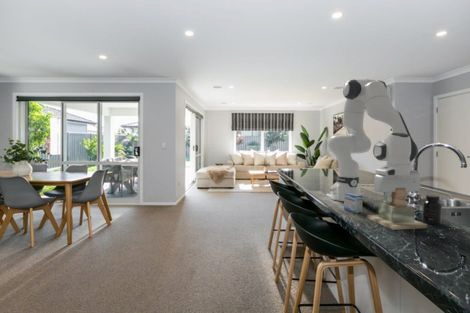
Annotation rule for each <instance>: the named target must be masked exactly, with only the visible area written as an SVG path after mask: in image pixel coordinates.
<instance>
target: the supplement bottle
mask: <svg viewBox="0 0 470 313" xmlns="http://www.w3.org/2000/svg"><path fill="white" fill-rule="evenodd" d="M442 215H443V204H442V203H441V202H440V196H439V195H437V194H426V195H425V200H424V201H423V202H422V223H425V224H427V225H437V224H438V225H441V224H442V219H443V218H442V217H443V216H442Z"/></svg>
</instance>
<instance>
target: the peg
mask: <svg viewBox="0 0 470 313" xmlns="http://www.w3.org/2000/svg"><path fill="white" fill-rule="evenodd" d="M405 192H406V188H396V191H395V192H392V195H391V197H392V198H394V200H393V202H388V205H391V206H394V207H405V204H406V199H405Z"/></svg>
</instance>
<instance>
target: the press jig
mask: <svg viewBox="0 0 470 313" xmlns="http://www.w3.org/2000/svg"><path fill="white" fill-rule="evenodd" d="M415 212H416V207H415V206H412V205H409V204H406V203H405V207H394V206H391V205H388V202H385V203H383V202H378V213H377V214H367V216H366V217H367V219H368V220H369V221H370V220H371V221H372V222H375V223H377V224H378V225H381V226H383V227H386V228H388V229H390V230H391V231H392V230H393V231H395V230H396V231H397V230H412V229H415V230H417V229H428V223H425V222H423V221H418V220H416V219H415V215H416V214H415Z"/></svg>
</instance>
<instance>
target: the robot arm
mask: <svg viewBox="0 0 470 313" xmlns="http://www.w3.org/2000/svg"><path fill="white" fill-rule="evenodd" d="M387 88H388V87H387V84H386V82H385V81H382V80H379V79H370V78H366V79H349V80H347V81H346V82H345V84H344V86H343V88H342V89H343V90H342V94H343V96H344V98H345V99H346V100H345V104H344V109H343V114H342V125H343V127H344V128H346V129H347V130H348V133H349V134H348V135H347V134H338V135H335V136H330V138H329V139H328V143H327V147H328V149H329V151H330V152H332V154H333V155H334V156H335V158H336V160H337V164H338V176H336V182H335V183H334V184H332V185H331V186H330V188H329V191H330V192H329V193H326V196H327V197H328V198H330V199H331V200H332V201H339V202H344V197H345V193H353V194H357V195H361V194H362V193H361V186H360V185H359V183H360V177H359V171H360V170H359V168H360V166H359V163H358V161H356V160H354V159H353V158H352V154H363V153H367V152H369V151H370V150H371V147H372V141H371V139H370V138H369V136H367V135H366V132H365V130H364V118H365V117H364V116H365V112H366V113H367V115H368V116H369V117H370V118H371V119H372V120H375V121H378V122H381V123H384V124H387V125H388V126H390V127H391V128H392V131H393V133H392V132H391V133H389V135H388V136H387V138H385V139H382V140H379V141H377V142H376V143H375V144H374V146H373V149H372V152H373V156H374V158H375V159H376V160H378V161H381V162H386V165H384V166H381V167H378V168H376V169H375V174H376V175H375V176H374V181H373V190H374V191H375V192H377V193H384V192H386V196H387V197H388V202H393V200H394V198H392V197H391V195H392V192H395V191H396V188H406V192H405V200H406V198H407V197H408V195H409V193H410V192H419V191H420V190H421V179H420V173H419V172H418V171H417V170H416V169H414V170H413V169H412V170H411V162H412V161H414V160H415V158H417V156H418V154H419V148H418V146H417V144H416V143H415V141H414V140H413V138H412V135H411V133H410V132H409V129H408V127H407V125H406V122H405V119H404V117H403V116H402V114H401V112H400V111H398V110H397V108H395V107H394V105H393V104H392V102H391V100H390V95H389V93H388V89H387ZM361 196H362V195H361Z"/></svg>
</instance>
